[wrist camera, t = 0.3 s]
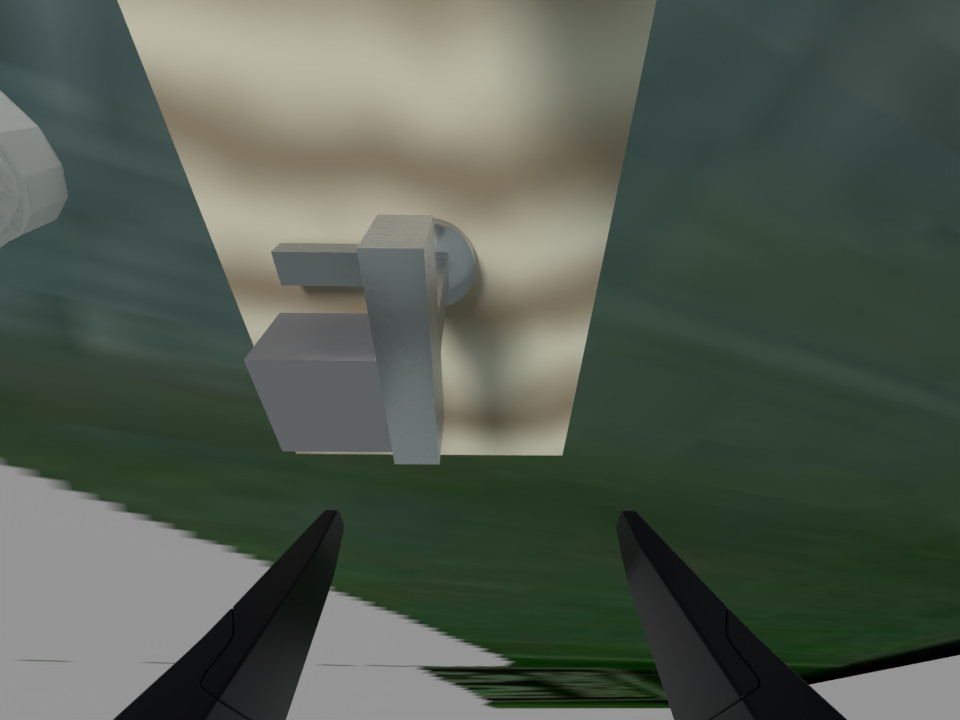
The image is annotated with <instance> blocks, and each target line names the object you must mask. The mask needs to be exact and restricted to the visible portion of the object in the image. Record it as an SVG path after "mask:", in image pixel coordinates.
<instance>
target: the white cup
mask: <svg viewBox="0 0 960 720" xmlns="http://www.w3.org/2000/svg"><path fill="white" fill-rule="evenodd" d="M67 198H68V192H67V186H66V181H65V175H64V170H63V165H62V163H61V161H60V160H59V158H58V157H57V155H56V153H55V152H54V150H53V148H52V147H51V145H50V144H49V142H48V140H47V139H46V137H45V135H44V134H43V132H42V131H41V129H40V128H39V126H38V125H37V124H35V123H34V122H33V121H32V120H31V119H30V118H29V117H28V116H27V115H26V114H25V113H24V112H23V111H22V110H21V109H20V108H19V107H18V106H17V105H16V104H15V103H13V102H12V101H11V100H10V99H9V98H8V97H7V96H6V95H5V94H4V93H3V92H2V91H0V249H1V247H2V246H4V245H5V244H6V243H8V242H9V241H11V240H13V239H15V238H17V237H19V236H21V235H23V234H25V233H28V232H30V231H32V230H34V229H36V228H39V227H41V226H43V225H45V224H47V223H50V222H52V221H54V220H56V219H57V218H58V216H59V214H60V212H61V210H62V208H63V206H64V204H65V202H66V200H67Z"/></svg>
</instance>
